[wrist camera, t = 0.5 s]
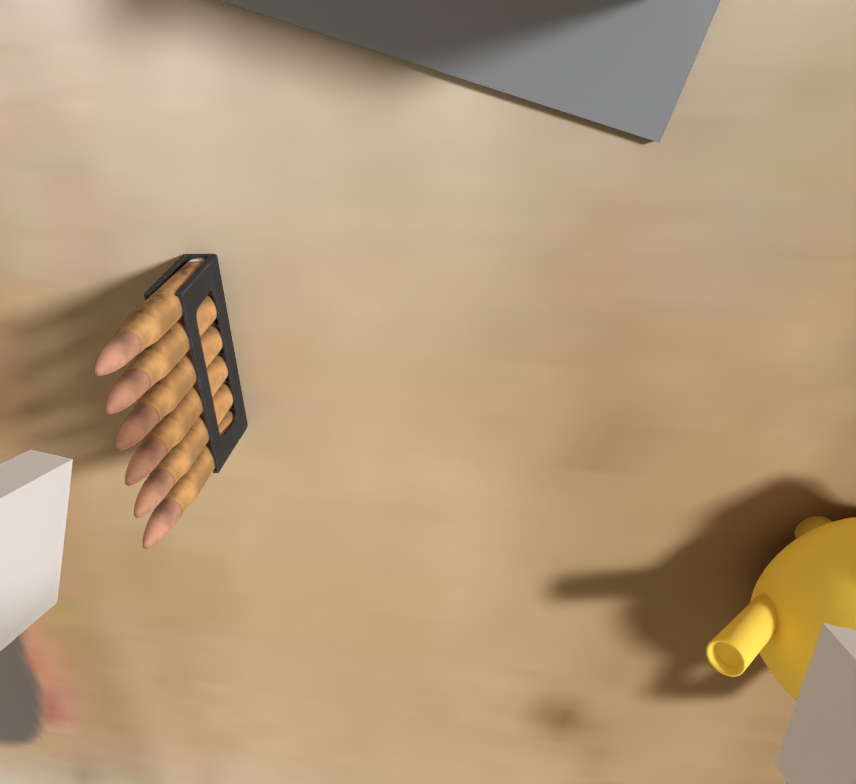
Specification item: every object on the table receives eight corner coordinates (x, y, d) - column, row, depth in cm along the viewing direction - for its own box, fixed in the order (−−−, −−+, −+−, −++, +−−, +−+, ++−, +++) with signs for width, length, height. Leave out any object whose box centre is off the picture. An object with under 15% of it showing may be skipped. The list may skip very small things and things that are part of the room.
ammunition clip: (248, 427, 46) (168, 564, 35) (217, 427, 46) (130, 563, 35) (216, 253, 40) (113, 352, 30) (182, 253, 41) (67, 352, 30)
